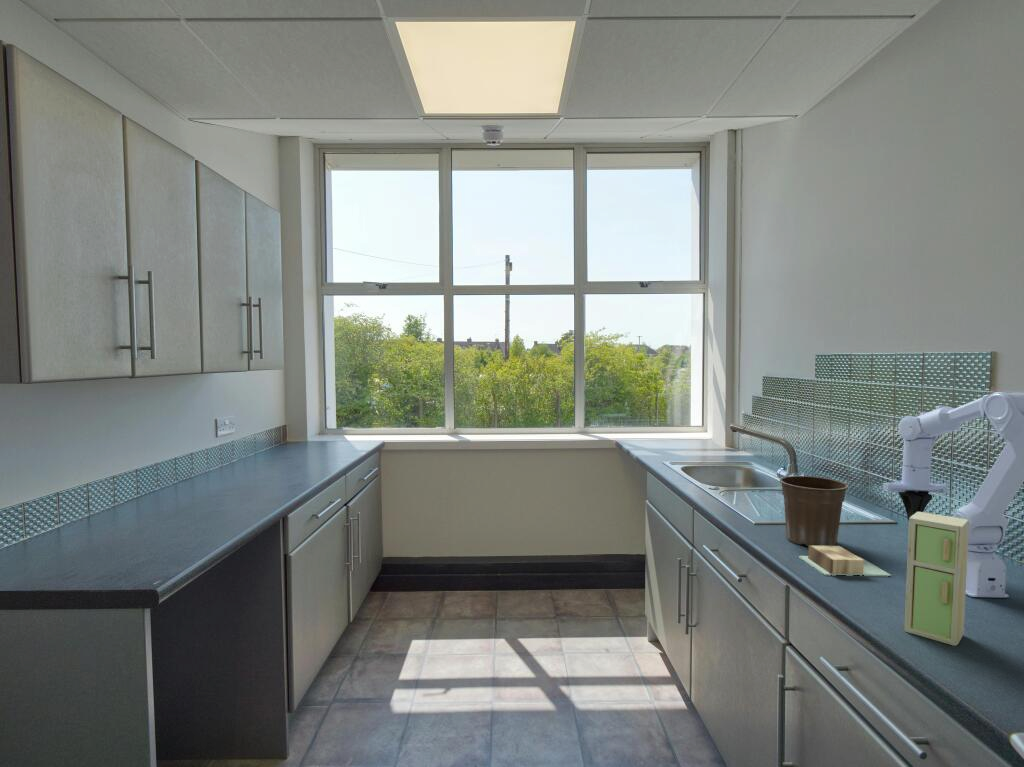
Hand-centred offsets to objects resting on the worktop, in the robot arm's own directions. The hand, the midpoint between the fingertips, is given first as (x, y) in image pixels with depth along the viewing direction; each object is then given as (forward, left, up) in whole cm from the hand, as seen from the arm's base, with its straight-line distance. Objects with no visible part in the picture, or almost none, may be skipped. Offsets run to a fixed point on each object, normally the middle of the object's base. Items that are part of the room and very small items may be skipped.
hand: (913, 521), depth 146 cm
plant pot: (+15, +17, -10) cm, 25 cm away
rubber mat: (-4, +19, -10) cm, 22 cm away
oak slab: (-5, +18, -8) cm, 20 cm away
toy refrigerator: (-38, +22, -10) cm, 45 cm away
